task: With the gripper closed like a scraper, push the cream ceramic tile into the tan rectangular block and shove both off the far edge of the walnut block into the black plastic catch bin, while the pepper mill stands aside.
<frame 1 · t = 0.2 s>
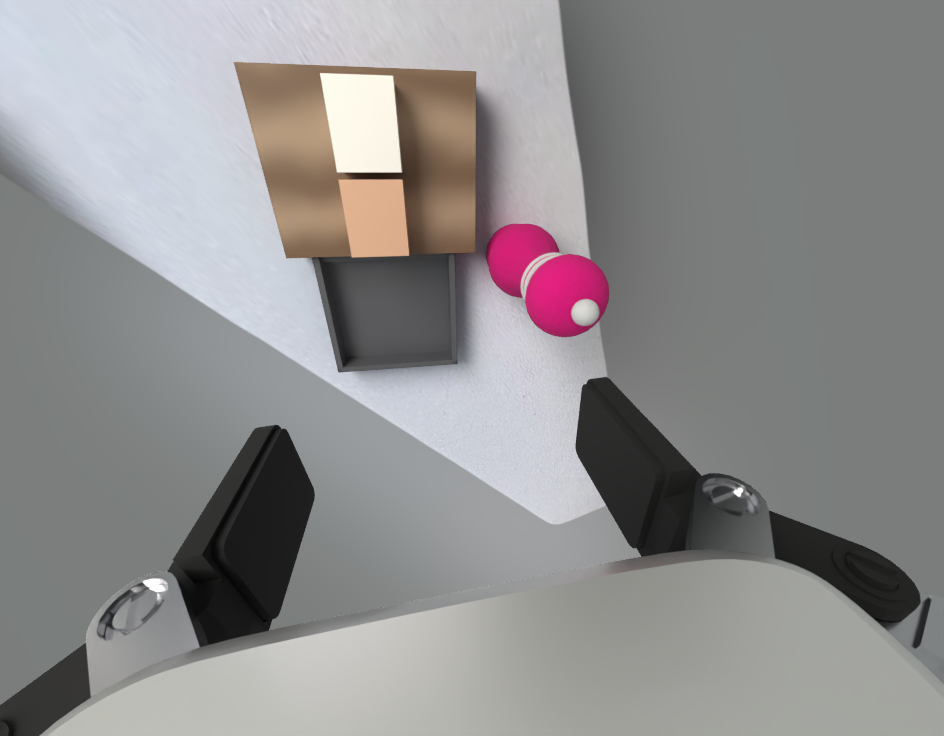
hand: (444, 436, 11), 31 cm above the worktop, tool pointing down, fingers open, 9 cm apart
catch bin: (394, 307, 40), on the worktop
walnut block: (377, 172, 33), on the worktop
pepper mill: (512, 252, 39), on the worktop
tan rectangular block: (379, 216, 31), point 4 cm above the worktop, touching walnut block
tile cream: (368, 130, 28), point 4 cm above the worktop, touching walnut block
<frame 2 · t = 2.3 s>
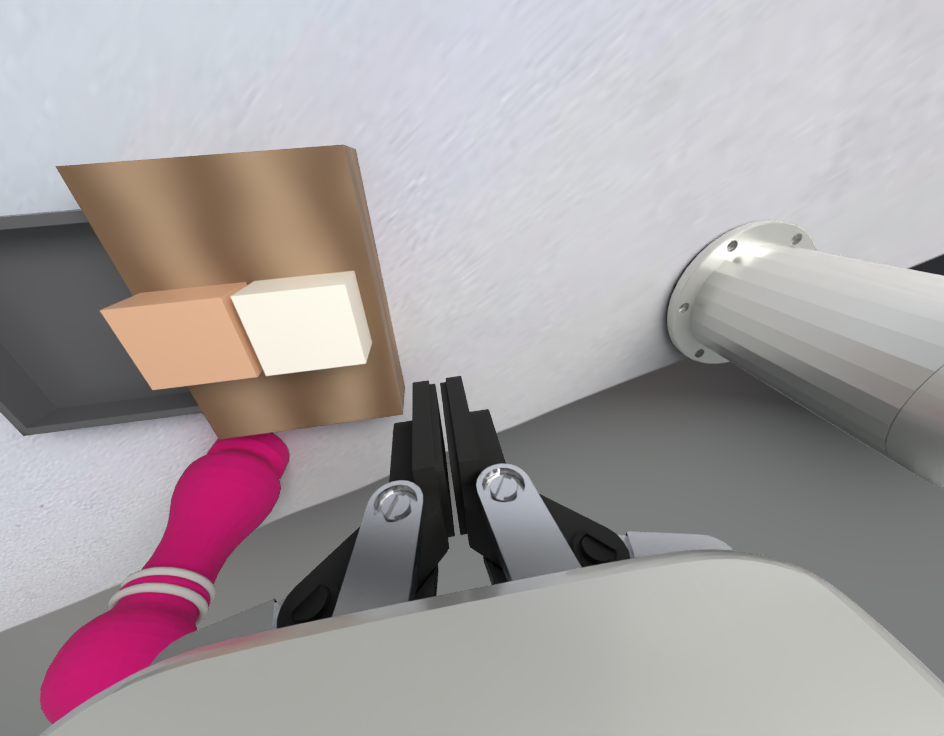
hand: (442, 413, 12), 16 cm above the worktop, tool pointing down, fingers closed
catch bin: (92, 320, 24), on the worktop
walnut block: (290, 299, 25), on the worktop
pepper mill: (254, 450, 32), on the worktop
tan rectangular block: (212, 325, 22), point 4 cm above the worktop, touching walnut block
tile cream: (317, 313, 22), point 4 cm above the worktop, touching walnut block
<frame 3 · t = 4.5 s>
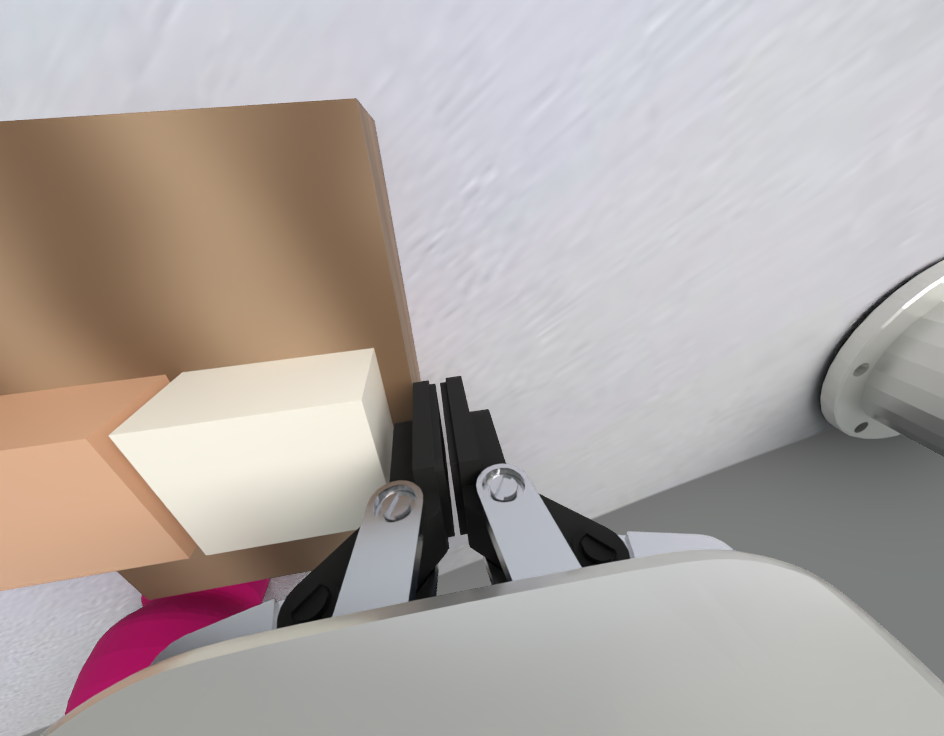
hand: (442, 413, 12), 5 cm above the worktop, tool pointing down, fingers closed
walnut block: (262, 374, 15), on the worktop
pepper mill: (219, 572, 22), on the worktop
tan rectangular block: (111, 447, 12), point 4 cm above the worktop, touching walnut block
tile cream: (305, 420, 12), point 4 cm above the worktop, touching gripper
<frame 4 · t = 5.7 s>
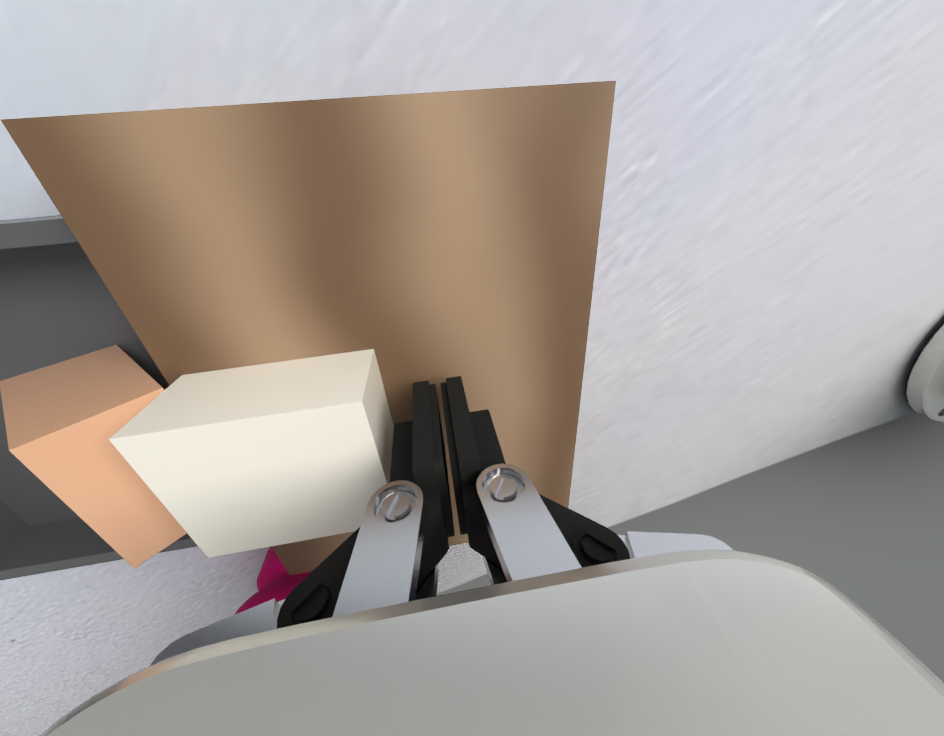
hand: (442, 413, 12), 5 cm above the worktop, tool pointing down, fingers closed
catch bin: (85, 398, 15), on the worktop
walnut block: (404, 355, 16), on the worktop
pepper mill: (320, 554, 23), on the worktop
tan rectangular block: (174, 420, 13), point 3 cm above the worktop, tilted 45°, touching catch bin
tile cream: (305, 421, 12), point 4 cm above the worktop, touching gripper
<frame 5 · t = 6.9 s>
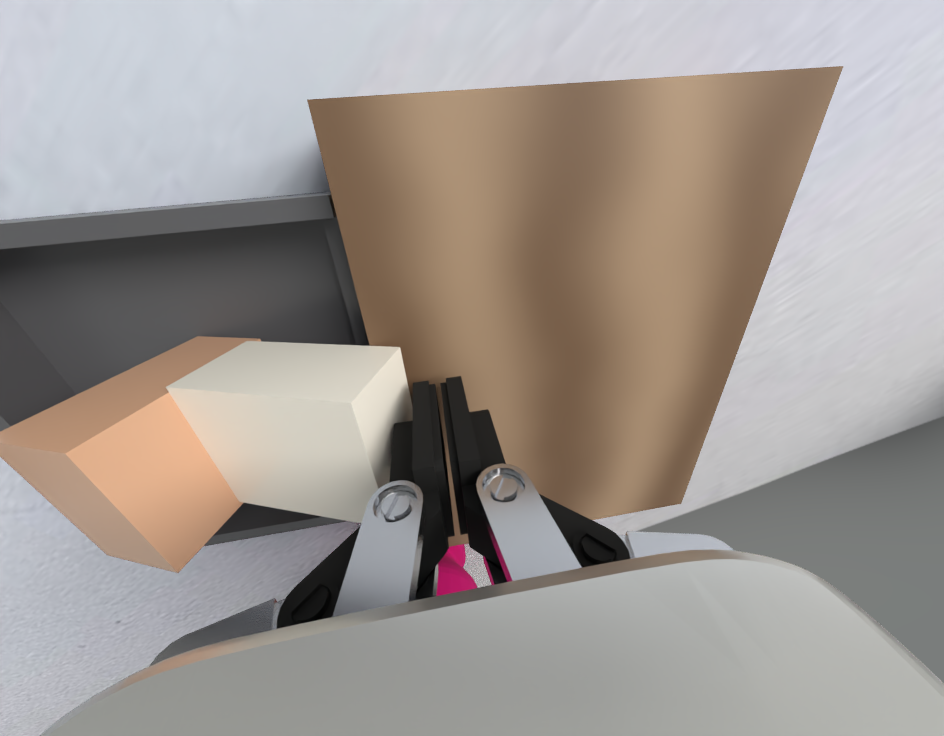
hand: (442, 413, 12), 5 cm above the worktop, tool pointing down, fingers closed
catch bin: (239, 378, 15), on the worktop
walnut block: (536, 338, 16), on the worktop
pepper mill: (416, 537, 23), on the worktop
tan rectangular block: (223, 443, 12), point 4 cm above the worktop, tilted 112°, touching catch bin, tile cream
tile cream: (339, 403, 13), point 3 cm above the worktop, tilted 22°, touching gripper, tan rectangular block
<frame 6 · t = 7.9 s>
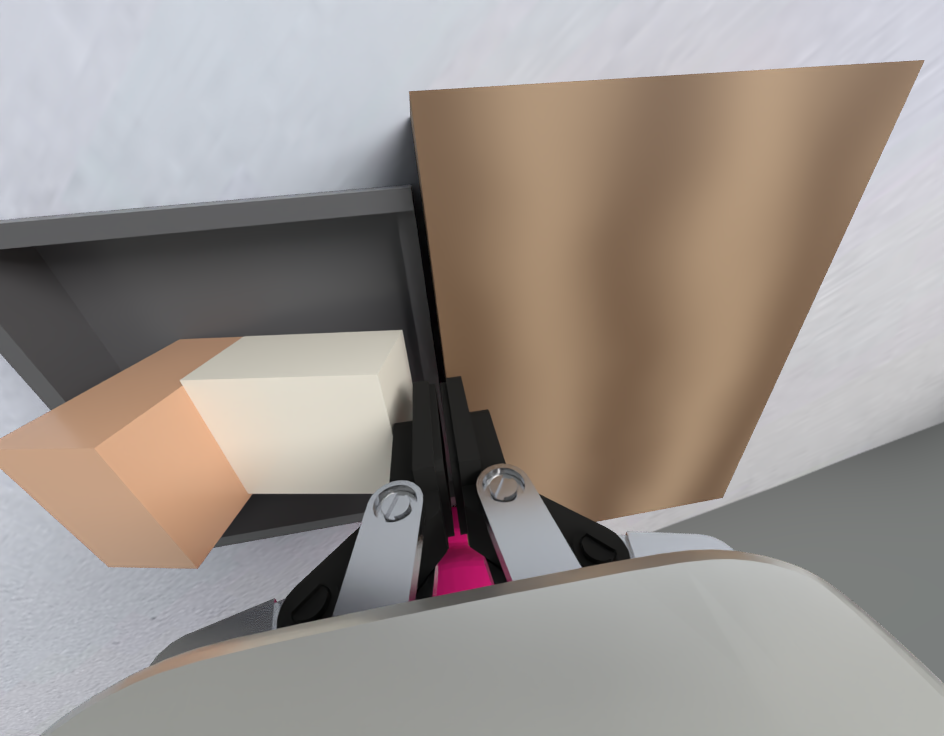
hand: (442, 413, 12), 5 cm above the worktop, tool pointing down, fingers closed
catch bin: (291, 372, 15), on the worktop
walnut block: (583, 333, 17), on the worktop
pepper mill: (450, 533, 23), on the worktop
tan rectangular block: (228, 439, 12), point 4 cm above the worktop, tilted 102°, touching catch bin, tile cream
tile cream: (339, 389, 14), point 2 cm above the worktop, tilted 12°, touching gripper, tan rectangular block
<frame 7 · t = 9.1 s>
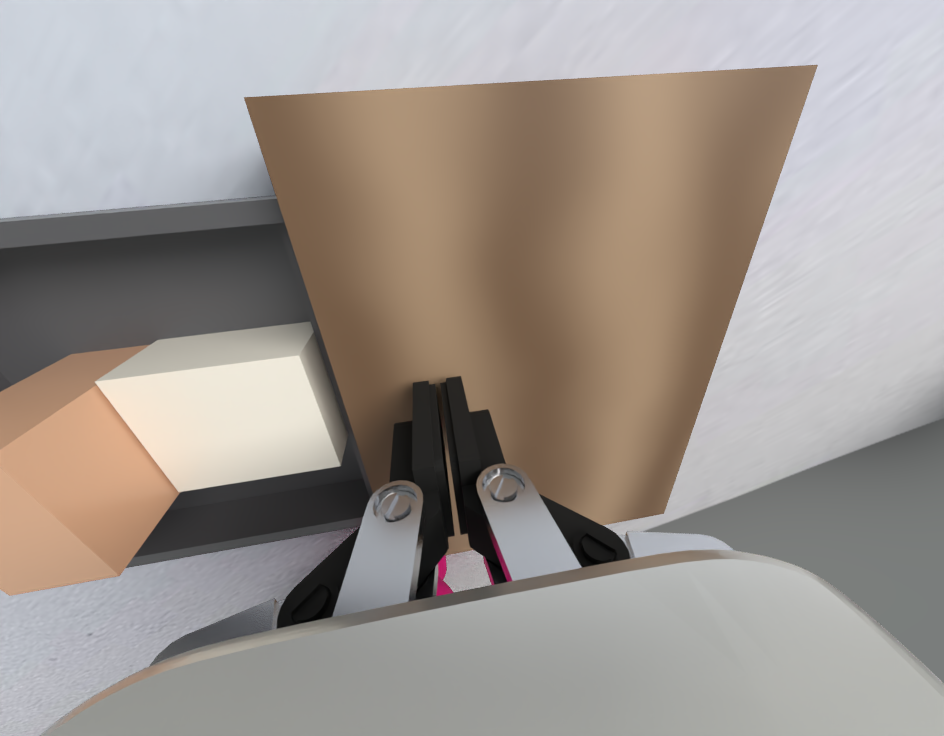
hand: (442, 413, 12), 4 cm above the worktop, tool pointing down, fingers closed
catch bin: (204, 386, 15), on the worktop
walnut block: (513, 345, 16), on the worktop
pepper mill: (397, 546, 23), on the worktop
tan rectangular block: (140, 446, 12), point 4 cm above the worktop, tilted 90°, touching catch bin
tile cream: (265, 383, 14), point 1 cm above the worktop, touching catch bin
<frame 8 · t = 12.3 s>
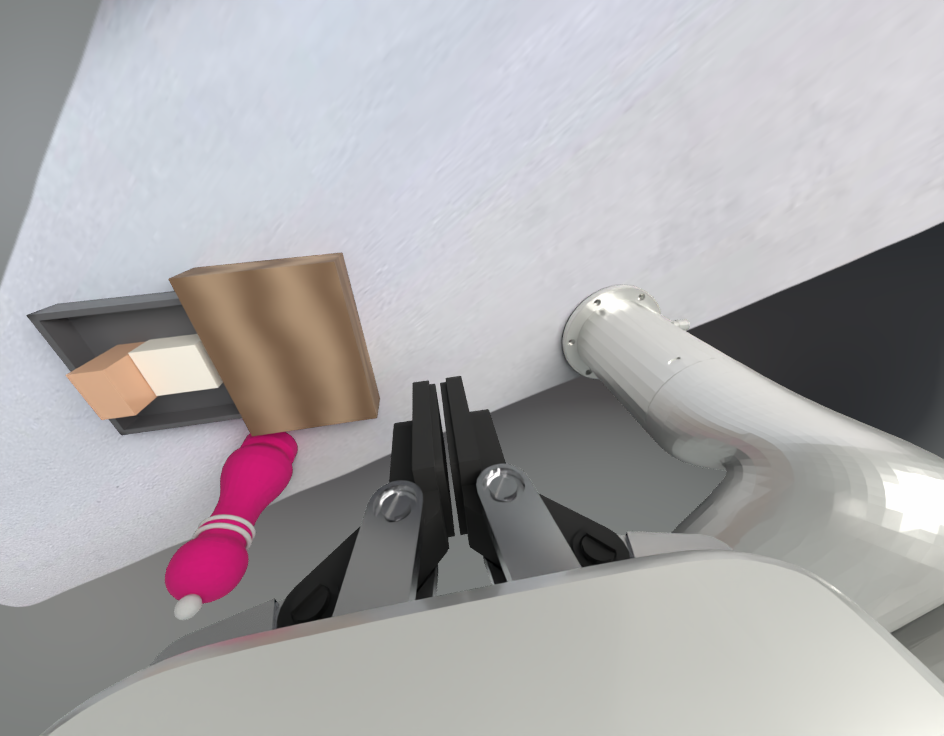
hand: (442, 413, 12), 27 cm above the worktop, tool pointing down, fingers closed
catch bin: (168, 358, 37), on the worktop
walnut block: (299, 342, 38), on the worktop
pepper mill: (272, 444, 44), on the worktop
tan rectangular block: (142, 376, 33), point 4 cm above the worktop, tilted 90°, touching catch bin
tile cream: (192, 357, 36), point 1 cm above the worktop, touching catch bin
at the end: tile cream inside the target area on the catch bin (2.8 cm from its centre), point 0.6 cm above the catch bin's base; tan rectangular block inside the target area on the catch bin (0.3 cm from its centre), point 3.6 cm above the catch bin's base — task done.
